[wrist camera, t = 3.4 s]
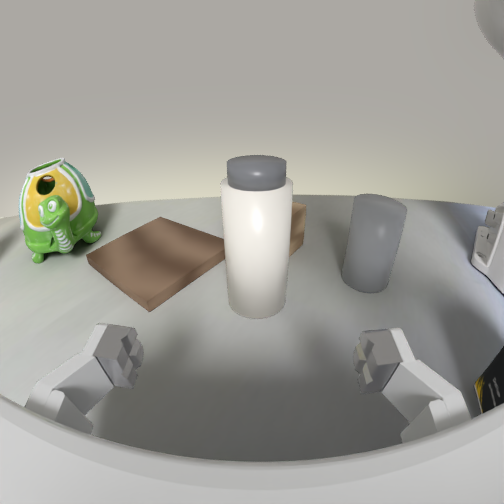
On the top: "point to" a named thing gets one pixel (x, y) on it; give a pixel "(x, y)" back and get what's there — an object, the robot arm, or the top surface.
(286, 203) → the plastic bottle
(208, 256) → the walnut board
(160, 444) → the top surface
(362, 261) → the grey cylinder
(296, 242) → the oak block
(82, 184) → the turtle holder
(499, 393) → the medicine bottle
